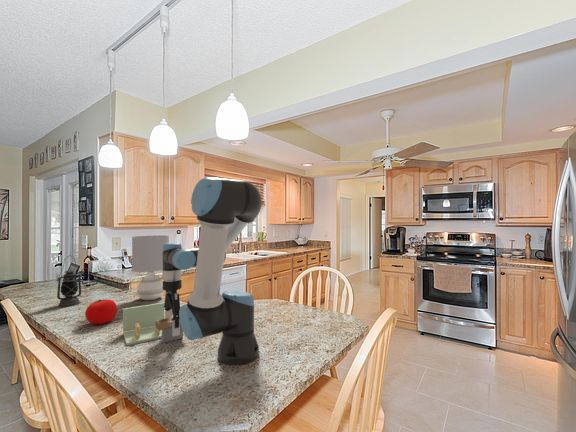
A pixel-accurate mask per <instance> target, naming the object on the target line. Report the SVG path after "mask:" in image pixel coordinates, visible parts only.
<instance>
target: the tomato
mask: <svg viewBox="0 0 576 432" xmlns="http://www.w3.org/2000/svg"><path fill="white" fill-rule="evenodd" d="M117 314H118V305H117V303H116V302H115V301H114V300H112V299H105V298H104V299H98V300H94V301H92V302H90V304H89V305H88V306H87V307H86V309H85V313H84V315H85V316H84V317H85V319H86V320H87V322H89V323H90V324H93V325H103V324H107V323H109V322H111V321H113V320H114V318H115V317H117Z"/></svg>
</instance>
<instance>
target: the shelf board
mask: <svg viewBox="0 0 576 432" xmlns="http://www.w3.org/2000/svg"><path fill="white" fill-rule="evenodd" d="M172 318H173V316H172V317H171V318H166V319H165V318H164V319H160V320H156V328H157V329H158V331H160V330H165V329H169V328H172V320H171V319H172ZM180 326H181V324H180Z"/></svg>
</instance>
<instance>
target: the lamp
mask: <svg viewBox="0 0 576 432" xmlns="http://www.w3.org/2000/svg"><path fill="white" fill-rule="evenodd" d="M166 243H170V236H169V235H163V234H162V235H156V234H154V235H134V236H132V238H131V244H132V245H131V260H132V261H131V262H132V263H131V270H132V272H135V273H136V272H137V273H146V274H147V275H145V276H144V277H142V278H141V280H140V282H139V283H138V285H137V288H136V295H137V296H138V298H139V299H141V300H142V301H155V300H158V299H160V298H161V297H162V296H163V295H164V294H165V292H166V291H165V290H163V281H164V280H163V279H161V278H160V277H159V276H158V275H156V274H155V272H162V270H163V256H162V251H163V245H164V244H166Z"/></svg>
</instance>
